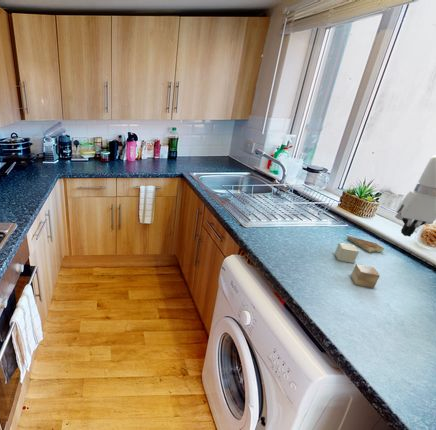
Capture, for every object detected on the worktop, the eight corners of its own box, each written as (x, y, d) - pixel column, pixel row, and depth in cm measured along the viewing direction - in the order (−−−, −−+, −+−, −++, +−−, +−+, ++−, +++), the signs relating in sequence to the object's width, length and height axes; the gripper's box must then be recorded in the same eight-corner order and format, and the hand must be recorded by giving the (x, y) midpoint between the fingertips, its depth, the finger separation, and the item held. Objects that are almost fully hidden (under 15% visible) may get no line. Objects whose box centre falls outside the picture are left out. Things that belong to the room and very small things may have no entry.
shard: (345, 238, 123) (347, 235, 122) (362, 238, 123) (363, 234, 123) (367, 252, 113) (369, 248, 112) (385, 252, 114) (387, 248, 113)
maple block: (368, 279, 97) (374, 267, 95) (373, 288, 93) (380, 275, 91) (350, 275, 99) (355, 263, 97) (355, 284, 94) (360, 271, 92)
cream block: (349, 256, 110) (354, 245, 108) (353, 263, 106) (359, 251, 104) (334, 253, 112) (338, 242, 110) (337, 260, 108) (342, 248, 105)
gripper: (450, 190, 103) (425, 234, 111) (398, 183, 108) (377, 226, 116) (464, 197, 97) (435, 243, 105) (408, 190, 102) (385, 234, 110)
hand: (405, 234), depth 110 cm, fingers closed
